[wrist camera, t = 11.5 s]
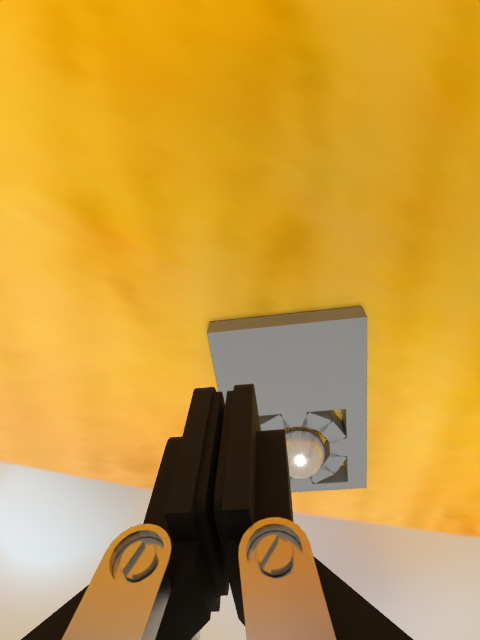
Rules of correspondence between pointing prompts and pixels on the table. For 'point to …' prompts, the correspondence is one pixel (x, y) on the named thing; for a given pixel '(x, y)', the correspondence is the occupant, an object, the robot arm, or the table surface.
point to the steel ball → (303, 451)
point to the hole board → (304, 382)
